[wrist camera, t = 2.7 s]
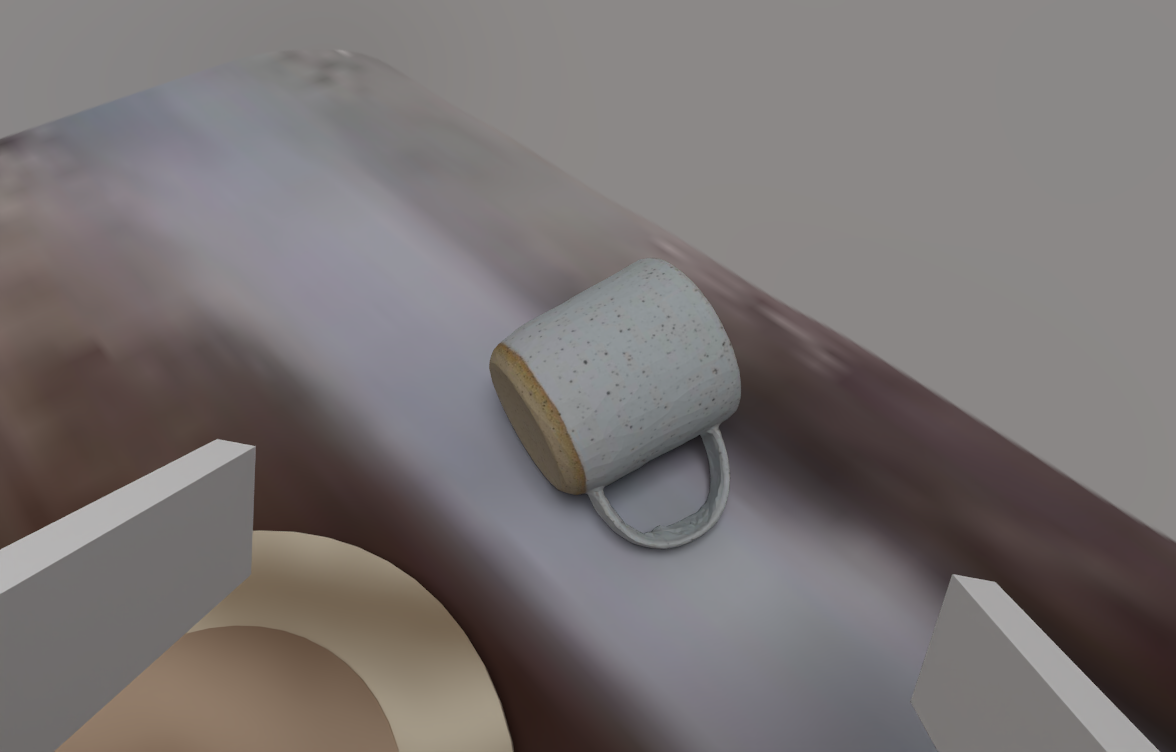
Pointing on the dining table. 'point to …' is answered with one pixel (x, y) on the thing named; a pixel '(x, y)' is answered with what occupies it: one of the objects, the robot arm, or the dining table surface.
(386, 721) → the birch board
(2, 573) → the robot arm
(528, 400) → the ceramic mug
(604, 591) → the dining table surface
